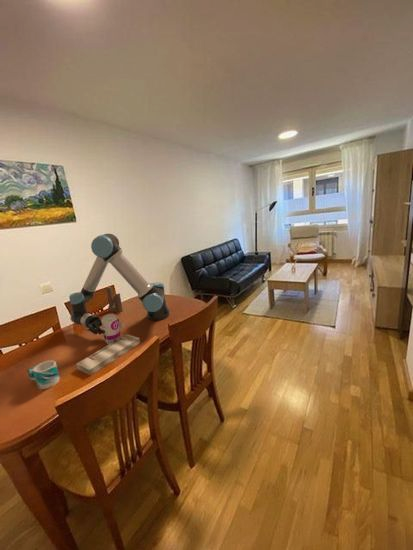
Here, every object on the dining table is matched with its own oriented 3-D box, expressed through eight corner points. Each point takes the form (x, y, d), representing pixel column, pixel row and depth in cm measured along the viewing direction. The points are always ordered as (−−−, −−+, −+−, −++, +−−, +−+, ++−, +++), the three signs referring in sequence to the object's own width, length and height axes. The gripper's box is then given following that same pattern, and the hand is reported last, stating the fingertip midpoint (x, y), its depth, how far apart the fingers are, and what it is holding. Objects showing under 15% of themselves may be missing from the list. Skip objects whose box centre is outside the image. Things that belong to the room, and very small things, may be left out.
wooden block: (119, 313, 174) (115, 289, 169) (108, 311, 179) (104, 288, 174) (123, 311, 177) (119, 287, 172) (112, 309, 182) (108, 286, 177)
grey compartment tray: (127, 338, 137) (126, 333, 136) (140, 342, 132) (139, 337, 131) (77, 369, 112) (76, 363, 112) (90, 375, 107) (89, 369, 107)
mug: (48, 390, 100) (44, 372, 98) (25, 387, 103) (19, 370, 100) (63, 376, 108) (59, 360, 106) (41, 374, 110) (36, 358, 108)
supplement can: (124, 338, 137) (120, 314, 133) (113, 346, 129) (108, 320, 125) (113, 336, 140) (109, 312, 136) (102, 343, 133) (97, 318, 129)
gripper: (107, 319, 151) (132, 326, 140) (74, 335, 134) (100, 344, 122) (105, 308, 149) (130, 315, 138) (72, 322, 132) (98, 331, 120)
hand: (116, 329), depth 130 cm, fingers closed on supplement can, 8 cm apart
